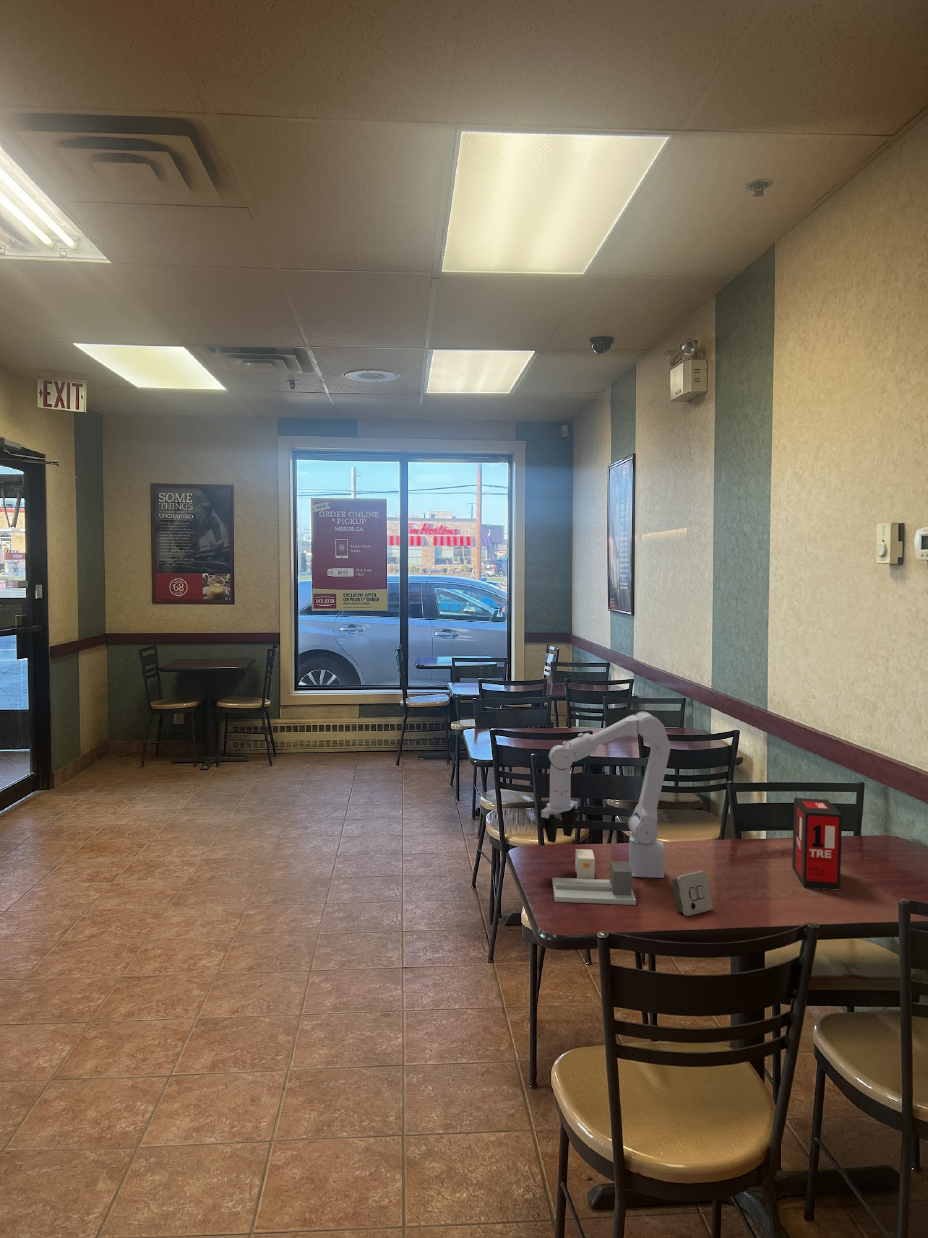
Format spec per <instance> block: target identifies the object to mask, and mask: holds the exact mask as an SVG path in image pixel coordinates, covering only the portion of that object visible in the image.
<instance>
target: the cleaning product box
mask: <svg viewBox="0 0 928 1238" xmlns="http://www.w3.org/2000/svg"><path fill="white" fill-rule="evenodd" d="M792 827H793V830H792V858H791V859H792V860H791V861H792V862H791V867H792V870H793V871H794V874H795V875H796V876H798V877H797V878H798V880H799V882H800V883H801V885H802V887H803V888H805V889H815V888H820V889H819V890H827V889H840V890H841V871H842V870H841V866H842V865H841V863H842V838H843V837H842V836H843V835H842V834H843V833H842V832H843V831H842V830H843V828H842V827H843V814H842V813H841V812H840V811H839V810H838V809H837V808H836V807H835V805H834V804H832V802H830V801H829V800H828V799H820V798H819V799H818V798H805V797H804V798H802V797H794V798H793V826H792ZM823 888H824V889H823ZM825 888H826V889H825Z"/></svg>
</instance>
